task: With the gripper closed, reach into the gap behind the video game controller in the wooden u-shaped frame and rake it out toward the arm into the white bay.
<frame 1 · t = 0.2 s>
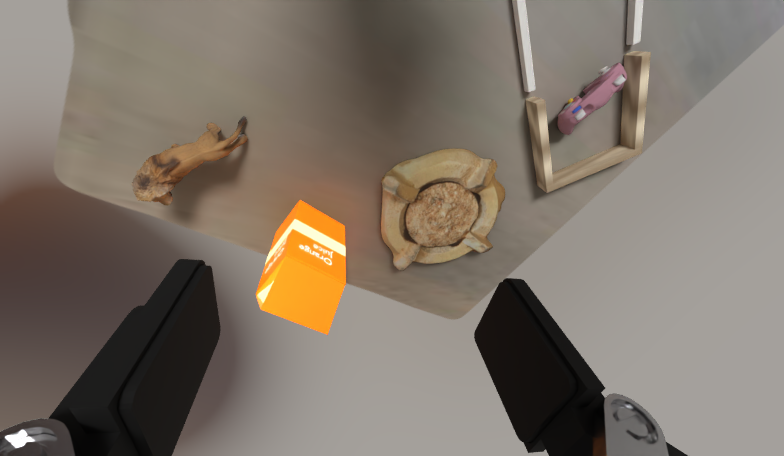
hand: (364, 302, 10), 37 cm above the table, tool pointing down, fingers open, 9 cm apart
orange juice: (310, 228, 51), on the table
lion figurine: (205, 149, 42), on the table
white bay: (575, 15, 39), on the table
ashtray: (436, 210, 53), on the table
video game controller: (578, 97, 45), on the table
wooden u-shaped frame: (580, 128, 48), on the table
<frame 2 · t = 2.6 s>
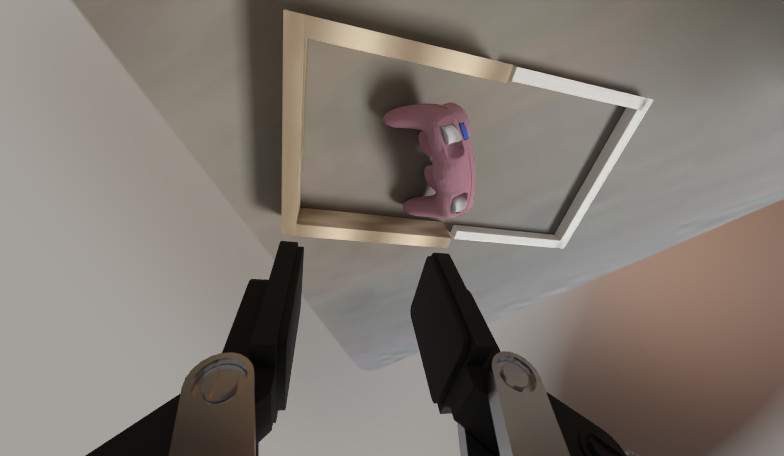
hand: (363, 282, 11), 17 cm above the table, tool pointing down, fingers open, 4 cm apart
white bay: (535, 170, 29), on the table
video game controller: (423, 155, 27), on the table
wooden u-shaped frame: (375, 145, 26), on the table
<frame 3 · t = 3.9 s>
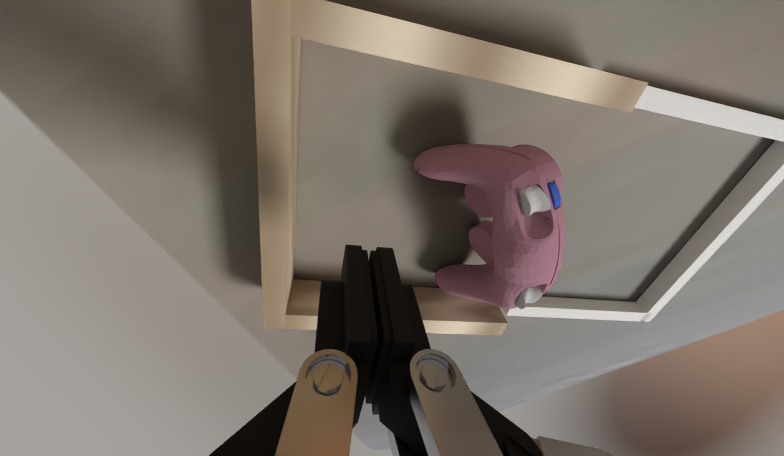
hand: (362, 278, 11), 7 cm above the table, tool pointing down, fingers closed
white bay: (627, 225, 21), on the table
video game controller: (467, 209, 19), on the table
wooden u-shaped frame: (404, 197, 17), on the table
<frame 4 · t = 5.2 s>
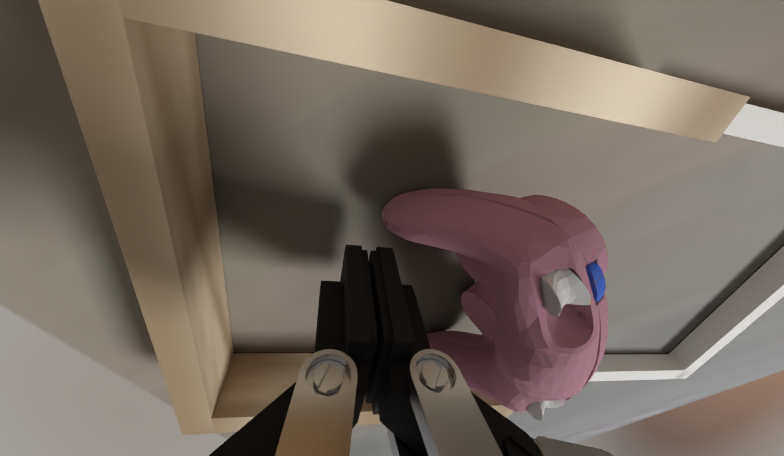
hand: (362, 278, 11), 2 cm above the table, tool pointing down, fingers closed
white bay: (669, 273, 16), on the table
video game controller: (459, 264, 14), on the table, touching gripper
wooden u-shaped frame: (377, 251, 12), on the table
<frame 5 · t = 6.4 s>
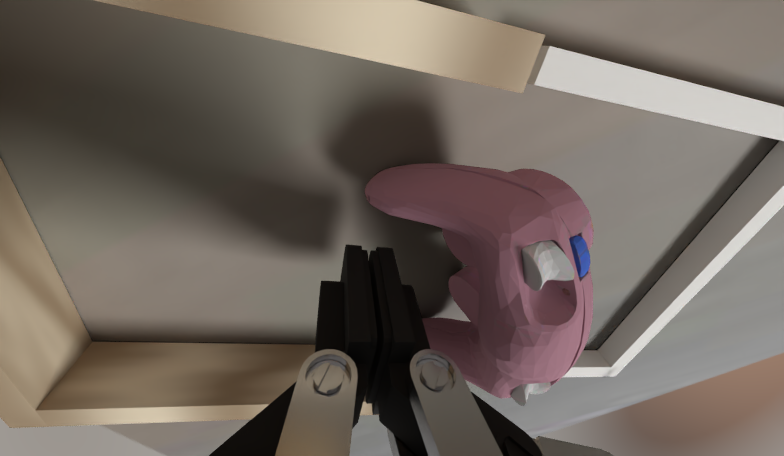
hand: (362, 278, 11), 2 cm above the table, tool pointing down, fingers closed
white bay: (574, 260, 15), on the table
video game controller: (447, 248, 14), on the table, touching gripper
wooden u-shaped frame: (221, 229, 11), on the table
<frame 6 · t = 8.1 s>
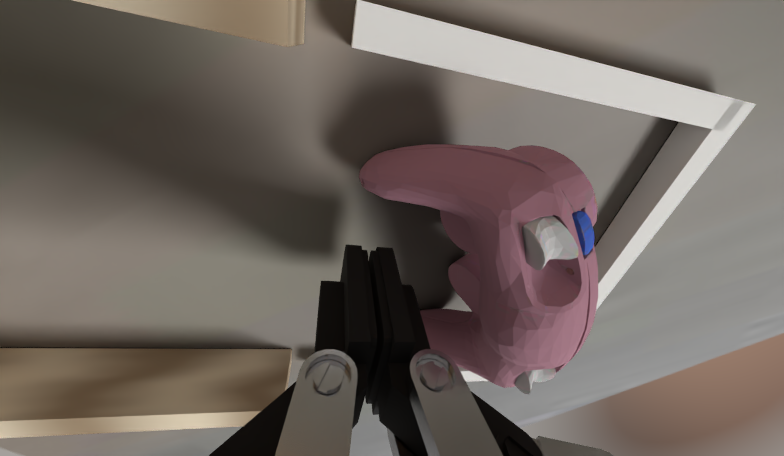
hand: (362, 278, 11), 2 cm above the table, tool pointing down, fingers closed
white bay: (474, 255, 14), on the table
video game controller: (446, 236, 13), on the table, touching gripper
wooden u-shaped frame: (42, 220, 10), on the table
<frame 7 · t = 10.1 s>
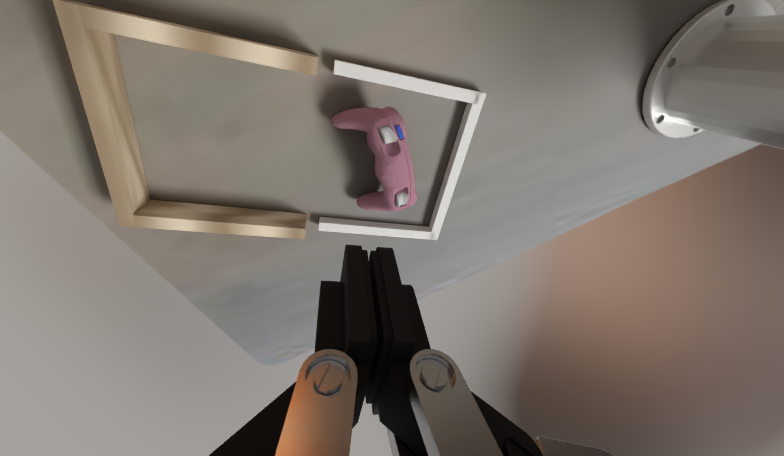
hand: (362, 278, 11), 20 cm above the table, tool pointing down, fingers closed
white bay: (391, 162, 30), on the table
video game controller: (373, 154, 30), on the table
wooden u-shaped frame: (214, 137, 26), on the table
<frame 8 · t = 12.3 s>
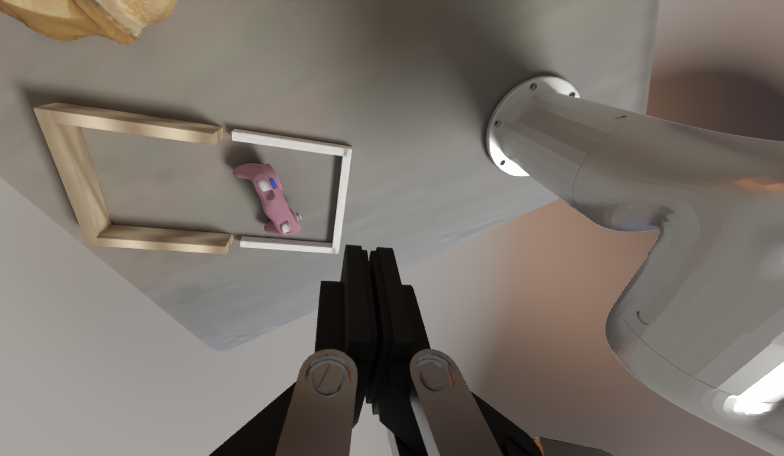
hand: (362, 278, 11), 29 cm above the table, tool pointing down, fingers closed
white bay: (291, 197, 40), on the table
video game controller: (273, 191, 39), on the table
wooden u-shaped frame: (154, 182, 36), on the table
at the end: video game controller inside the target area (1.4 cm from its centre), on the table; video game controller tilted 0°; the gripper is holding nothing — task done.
